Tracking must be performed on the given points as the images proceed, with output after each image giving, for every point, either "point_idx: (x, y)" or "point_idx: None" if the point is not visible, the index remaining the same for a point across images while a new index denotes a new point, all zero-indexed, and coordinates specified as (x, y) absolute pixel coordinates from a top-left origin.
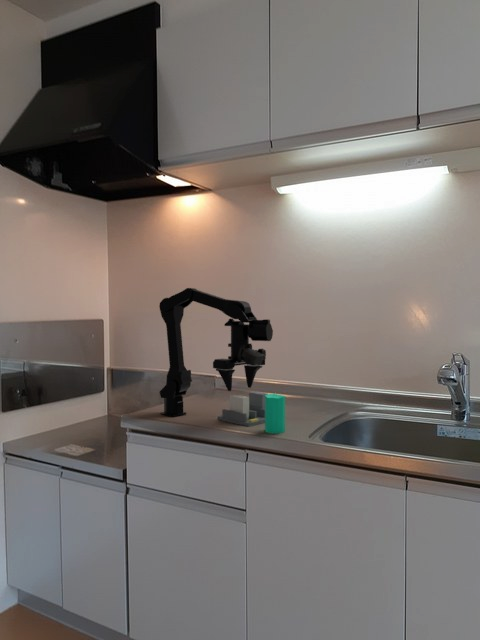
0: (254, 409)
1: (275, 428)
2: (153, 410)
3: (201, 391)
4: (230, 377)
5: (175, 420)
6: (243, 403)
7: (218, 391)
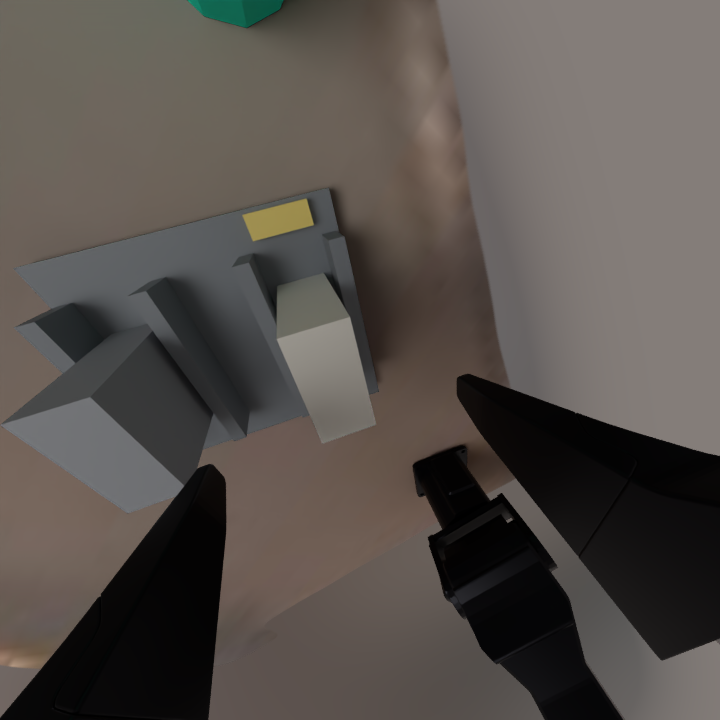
0: (201, 362)
1: None
2: None
3: (236, 647)
4: (625, 444)
5: None
6: (335, 304)
7: None
